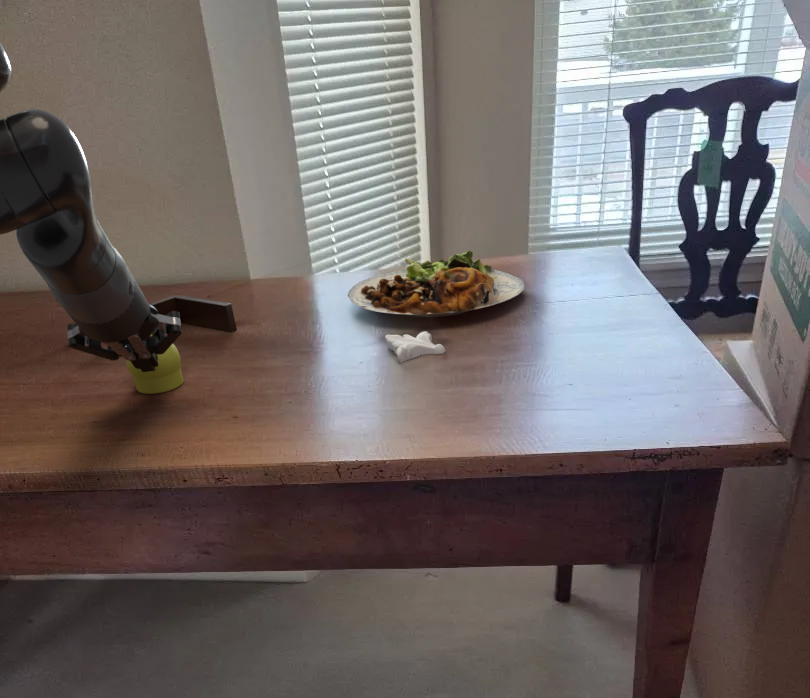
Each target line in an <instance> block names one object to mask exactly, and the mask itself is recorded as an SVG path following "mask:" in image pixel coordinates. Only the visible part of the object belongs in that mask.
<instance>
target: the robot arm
mask: <svg viewBox="0 0 810 698" xmlns="http://www.w3.org/2000/svg"><path fill="white" fill-rule="evenodd" d="M11 78H12V66H11V62H10V60H9V56H8V54H7V52H6V50H5V48H4V46H3V44H2V42H1V41H0V94H1V93H2V92H3V91H4V90H5V89H6V88H7V86H8V85H9V83H10V81H11ZM85 155H86V154H85V152H84V150H83V148H82V145H81V144H80V142H79V139H78V137H77V136H76V135H75V133H74V131H72V129H71V128H70V127H69V126H68V124H67V123H65V122H64V121H63V120H62V119H61V118H59V117H57V116H56V115H55V114H53V113H51V112H49V111H46V110H43V109H40V108H30V109H24V110H21V111H18V112H15V113H13V114H10V115H8V116H6V117H2V118H1V119H0V235H5V234H9V233H11V232H14V231H15V237H16V241H17V244H18V246H19V248H20V250H21V252H22V253H23V255H24V256H25V258H26V259H27V260H28V262H29V263H30V264H31V265H32V267H33V268H34V269H35V271H36V272H37V273H38V274H39V276H40V277H41V278H42V279H43V281H44V282H45V283H46V285H47V287H48V289H49V290H50V293H51V294H52V296H53V298H54V299H55V300H56V302H57V303H58V304H59V305H60V306H61V308H62V309H63V310H64V311H65V312H66V314H67V315H68V316H69V317H70V318H71V320H72V321H73V322H74V323H68V324H67V326H66V327H67V341H68V347H69V348H70V349H72V350H76V351H79V352H83V353H86V354H90V355H93V356H97V357H99V358H102V359H106V360H109V361H118V360H119V359H120V357H122V358H124V359H125V361H126V360H128V361H130V362H131V363H132V364H133V366H134V367H135V368H137V369H141V371H142V372H150V371H155V367H158V356H157V354H158V355H160V354H164V353H165V352H166V351H167V349H168V348H169V347H170V346H171V345H172V344H174V343H175V342H176V341H177V340H178V339H179V337H181V335H182V333H183V332H182V323H181V322H180V313H179V312H177V311H171V312H169V313H168V314H167V315H166V316H165V315H161V314H158V311H157V310H156V308H154V307H153V306H151V305H149V304H150V303H149V302H148V300H147V298H146V297H145V294H144V292H143V291H142V289H141V288H140V286H139V284H138V282H137V280H136V279H135V277H134V276H133V273H132V272H131V270H130V268H129V267H128V265H127V263H126V262H125V260H124V258H123V257H122V255H121V254H120V253H119V251H118V250H117V248H116V247H114V246H113V244H112V243H111V241H110V240H109V239H110V238H108V236H107V234H106V233H105V231H104V229H103V227H102V226H101V224H100V222H99V220H98V218H97V215H96V211H95V207H94V198H93V187H92V181H91V175H90V170H89V167H88V166H89V165H88V161H87V159H86V156H85ZM151 334H152V336H151ZM102 343H103V344H105V345H106V348H103V347H102Z"/></svg>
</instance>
